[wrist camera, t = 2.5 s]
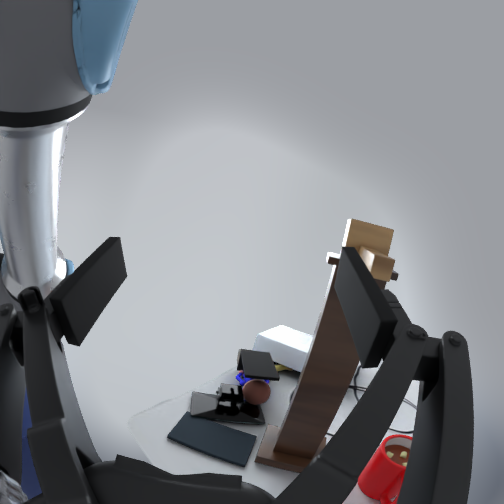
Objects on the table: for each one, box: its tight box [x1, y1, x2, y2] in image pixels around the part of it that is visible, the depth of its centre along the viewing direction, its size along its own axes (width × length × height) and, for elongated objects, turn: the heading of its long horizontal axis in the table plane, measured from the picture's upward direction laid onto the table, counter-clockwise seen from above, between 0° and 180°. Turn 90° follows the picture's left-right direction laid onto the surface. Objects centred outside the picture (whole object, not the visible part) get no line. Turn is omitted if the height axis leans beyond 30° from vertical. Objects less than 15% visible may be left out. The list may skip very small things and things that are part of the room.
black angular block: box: [191, 383, 265, 424], centre depth 43 cm, size 12×7×5 cm, turn 98°
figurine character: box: [236, 349, 280, 405], centre depth 51 cm, size 7×8×15 cm
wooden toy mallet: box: [340, 219, 395, 282], centre depth 26 cm, size 13×5×4 cm, turn 166°
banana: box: [275, 364, 293, 372], centre depth 59 cm, size 8×2×4 cm
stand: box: [254, 252, 398, 473], centre depth 33 cm, size 8×10×31 cm
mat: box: [167, 412, 257, 467], centre depth 36 cm, size 12×7×1 cm, turn 76°
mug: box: [358, 435, 412, 504], centre depth 26 cm, size 8×12×8 cm, turn 167°
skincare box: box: [253, 325, 313, 372], centre depth 65 cm, size 21×5×16 cm
